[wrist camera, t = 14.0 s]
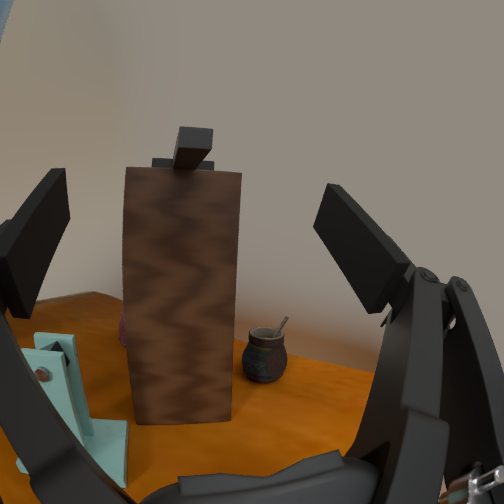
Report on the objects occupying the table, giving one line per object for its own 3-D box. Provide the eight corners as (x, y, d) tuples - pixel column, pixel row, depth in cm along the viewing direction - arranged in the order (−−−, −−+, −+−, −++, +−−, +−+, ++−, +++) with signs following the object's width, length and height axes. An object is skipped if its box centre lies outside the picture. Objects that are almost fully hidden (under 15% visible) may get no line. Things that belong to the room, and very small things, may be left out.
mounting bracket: (20, 472, 17) (-26, 358, 16) (41, 421, 27) (16, 320, 25) (126, 488, 21) (97, 374, 19) (128, 429, 30) (114, 327, 29)
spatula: (144, 146, 19) (147, 124, 19) (153, 180, 41) (154, 169, 41) (243, 152, 21) (244, 131, 21) (202, 182, 43) (203, 171, 43)
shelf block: (136, 424, 31) (126, 166, 28) (140, 372, 45) (137, 180, 41) (230, 420, 35) (242, 172, 31) (211, 371, 48) (218, 184, 45)
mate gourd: (231, 374, 48) (233, 317, 46) (264, 362, 53) (268, 309, 52) (262, 392, 42) (267, 332, 41) (294, 376, 48) (301, 321, 46)
